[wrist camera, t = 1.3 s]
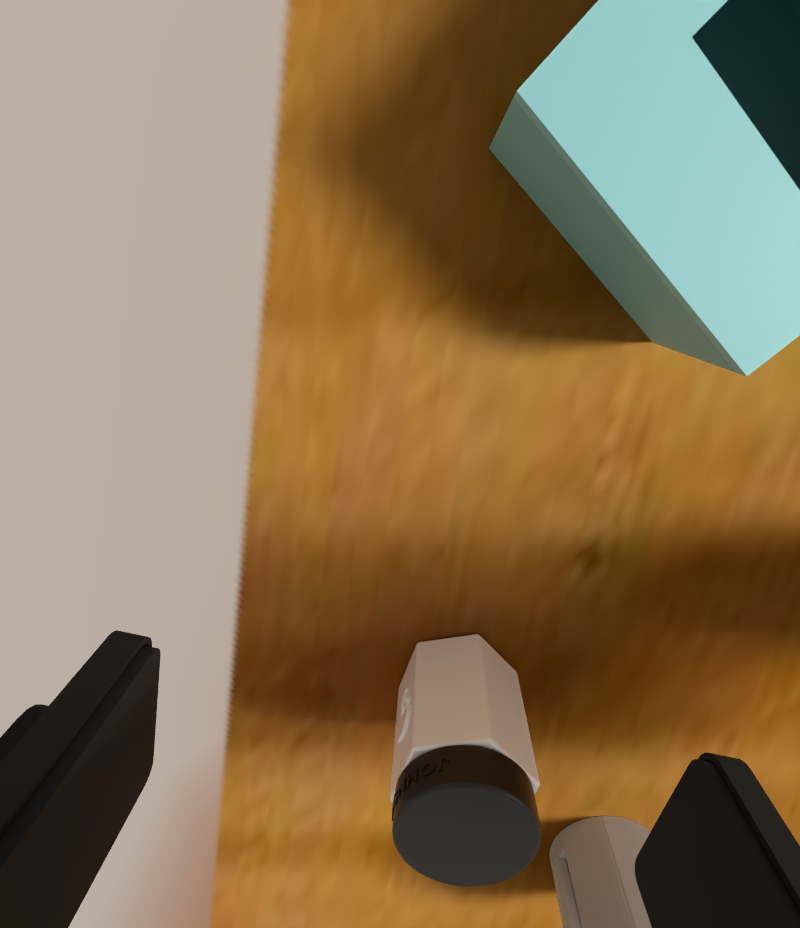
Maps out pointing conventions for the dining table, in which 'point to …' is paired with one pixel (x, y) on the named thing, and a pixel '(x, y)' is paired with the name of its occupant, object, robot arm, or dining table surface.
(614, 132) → the coin box
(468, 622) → the dining table surface
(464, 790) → the jar
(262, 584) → the dining table surface
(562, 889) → the cup
